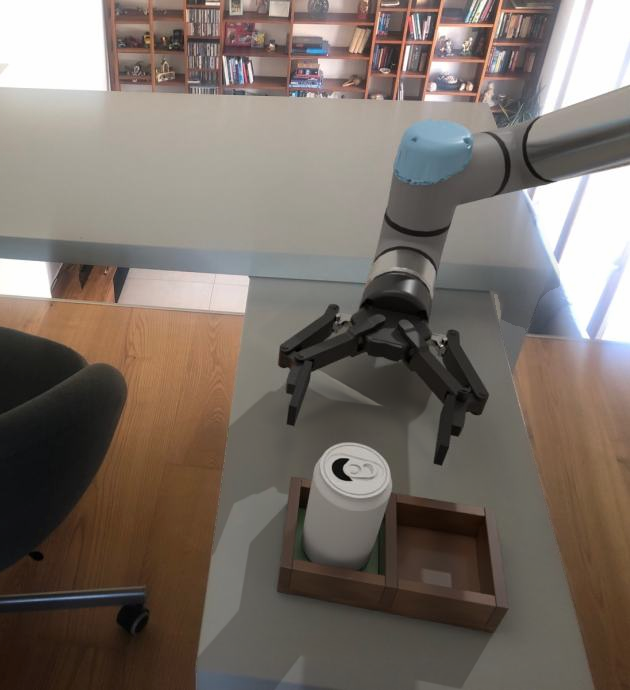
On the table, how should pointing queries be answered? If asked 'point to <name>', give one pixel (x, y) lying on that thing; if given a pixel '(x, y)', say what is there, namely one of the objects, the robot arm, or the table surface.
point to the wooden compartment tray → (408, 563)
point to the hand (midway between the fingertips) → (363, 435)
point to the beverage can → (346, 506)
